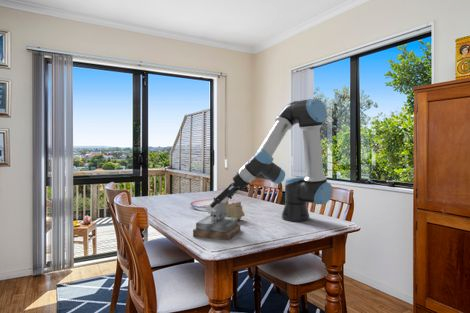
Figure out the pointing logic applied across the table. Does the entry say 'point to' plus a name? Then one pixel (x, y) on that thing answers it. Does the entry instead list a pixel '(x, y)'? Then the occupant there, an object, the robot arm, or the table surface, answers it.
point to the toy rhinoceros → (218, 212)
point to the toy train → (234, 210)
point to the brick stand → (217, 228)
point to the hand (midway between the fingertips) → (213, 208)
